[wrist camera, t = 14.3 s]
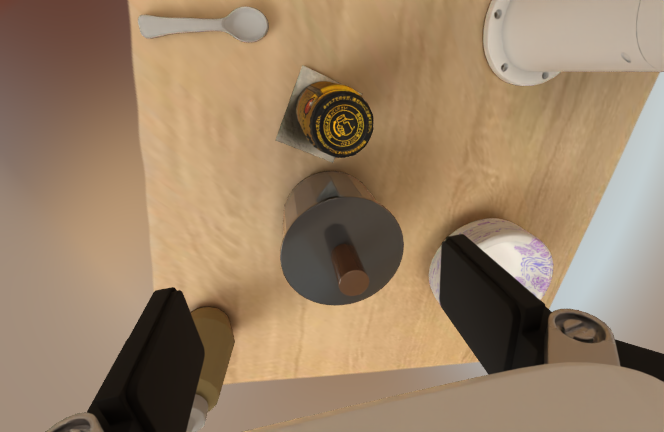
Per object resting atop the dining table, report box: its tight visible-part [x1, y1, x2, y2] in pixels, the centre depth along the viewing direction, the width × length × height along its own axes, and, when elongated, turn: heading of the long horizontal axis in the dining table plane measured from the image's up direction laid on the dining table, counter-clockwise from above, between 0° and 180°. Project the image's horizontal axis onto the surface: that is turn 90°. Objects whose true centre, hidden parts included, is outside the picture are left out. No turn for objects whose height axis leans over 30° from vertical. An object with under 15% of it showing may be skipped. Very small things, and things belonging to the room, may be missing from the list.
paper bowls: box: [429, 218, 553, 304], centre depth 44 cm, size 15×15×8 cm
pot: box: [283, 171, 377, 235], centre depth 37 cm, size 12×12×10 cm
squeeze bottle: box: [186, 307, 235, 432], centre depth 37 cm, size 8×8×18 cm
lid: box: [280, 195, 404, 305], centre depth 31 cm, size 13×13×6 cm
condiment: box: [276, 65, 373, 162], centre depth 31 cm, size 7×8×12 cm
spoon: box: [138, 7, 269, 42], centre depth 30 cm, size 3×12×2 cm, turn 92°
